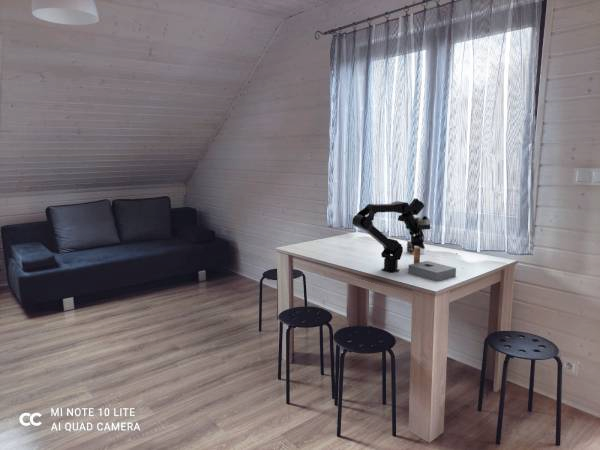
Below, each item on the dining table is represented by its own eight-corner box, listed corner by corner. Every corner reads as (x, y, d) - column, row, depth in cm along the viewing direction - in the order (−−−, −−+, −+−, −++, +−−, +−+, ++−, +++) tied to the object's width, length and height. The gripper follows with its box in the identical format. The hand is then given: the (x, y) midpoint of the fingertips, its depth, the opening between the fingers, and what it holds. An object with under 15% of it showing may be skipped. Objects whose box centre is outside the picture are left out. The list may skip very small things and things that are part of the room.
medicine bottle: (406, 252, 263) (407, 232, 261) (416, 251, 265) (417, 231, 263) (413, 254, 256) (414, 234, 254) (424, 253, 259) (425, 233, 256)
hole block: (436, 281, 205) (437, 272, 205) (408, 272, 219) (408, 264, 218) (455, 276, 213) (456, 268, 213) (426, 268, 227) (427, 260, 226)
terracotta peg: (416, 268, 228) (417, 248, 226) (412, 266, 230) (413, 247, 229) (420, 267, 230) (421, 248, 228) (416, 265, 232) (417, 247, 230)
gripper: (426, 227, 214) (440, 249, 221) (424, 204, 229) (436, 226, 235) (405, 235, 219) (418, 256, 226) (404, 212, 233) (417, 233, 240)
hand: (423, 242), depth 232 cm, fingers open, 9 cm apart
